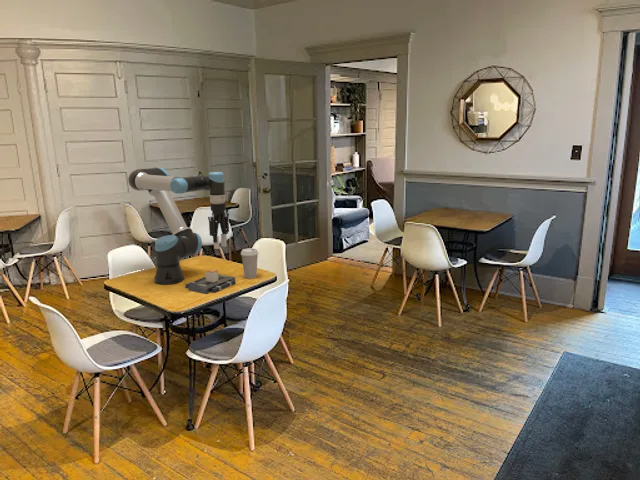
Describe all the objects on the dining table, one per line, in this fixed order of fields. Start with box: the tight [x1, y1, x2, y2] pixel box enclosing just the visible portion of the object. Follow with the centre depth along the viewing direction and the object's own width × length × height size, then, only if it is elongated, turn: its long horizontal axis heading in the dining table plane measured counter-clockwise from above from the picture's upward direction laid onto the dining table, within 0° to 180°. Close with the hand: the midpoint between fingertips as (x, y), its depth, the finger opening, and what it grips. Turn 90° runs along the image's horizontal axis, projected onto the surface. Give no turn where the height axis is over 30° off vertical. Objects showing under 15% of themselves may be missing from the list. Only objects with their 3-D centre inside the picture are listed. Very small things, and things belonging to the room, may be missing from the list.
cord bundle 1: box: [184, 276, 206, 289], centre depth 253 cm, size 5×18×2 cm, turn 151°
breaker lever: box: [205, 268, 219, 282], centre depth 248 cm, size 5×4×6 cm
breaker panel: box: [187, 273, 236, 295], centre depth 249 cm, size 12×22×3 cm, turn 151°
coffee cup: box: [240, 247, 259, 279], centre depth 263 cm, size 10×10×15 cm
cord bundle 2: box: [211, 280, 236, 294], centre depth 246 cm, size 3×16×2 cm, turn 151°
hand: (220, 247), depth 252 cm, fingers open, 5 cm apart
